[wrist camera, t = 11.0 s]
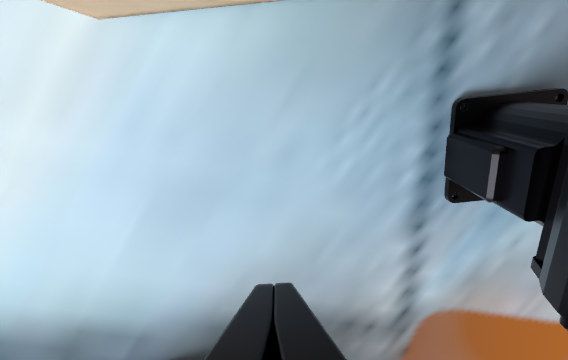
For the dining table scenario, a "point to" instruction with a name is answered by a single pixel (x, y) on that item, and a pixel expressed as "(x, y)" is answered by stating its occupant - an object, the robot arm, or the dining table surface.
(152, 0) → the carton
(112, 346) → the dining table surface
